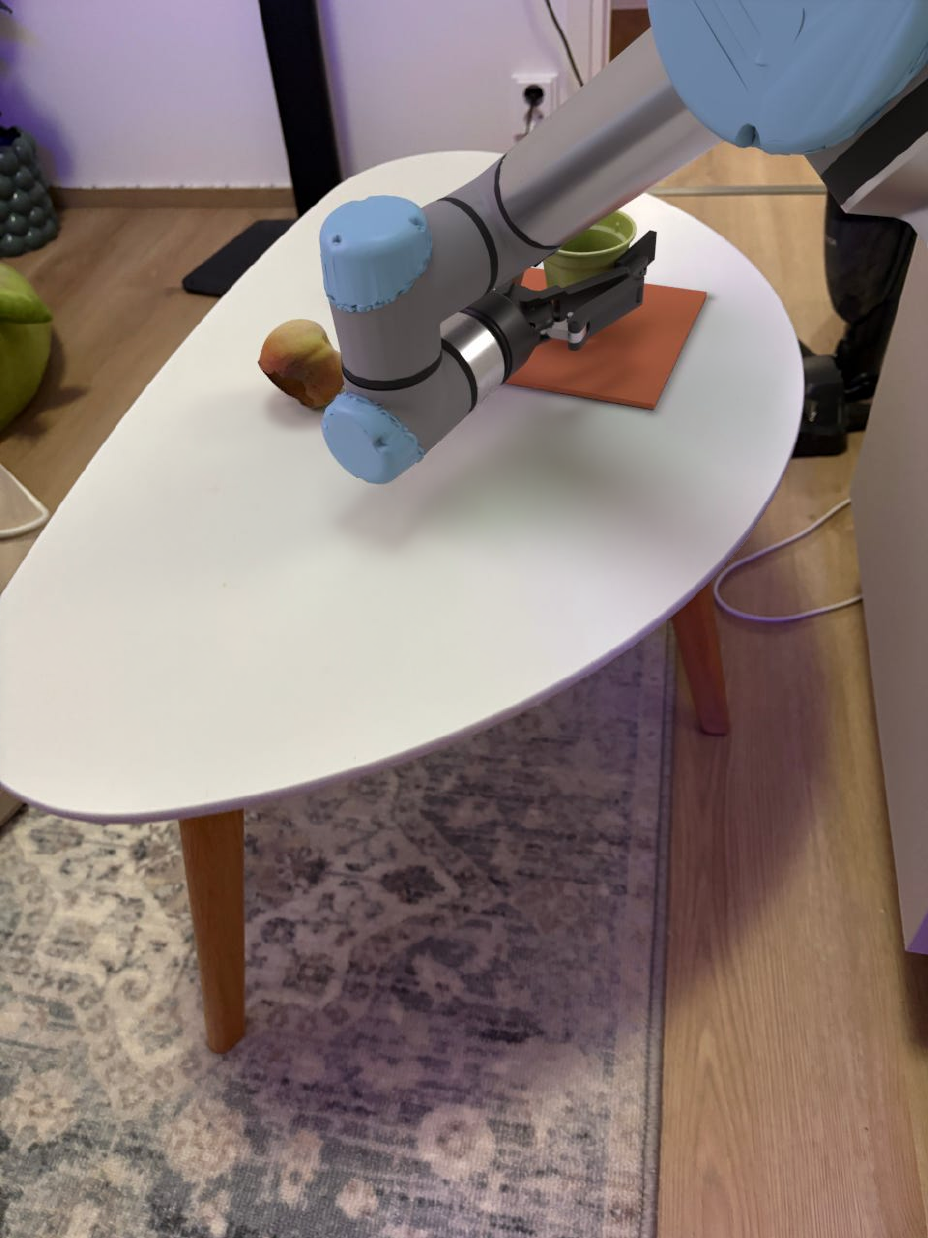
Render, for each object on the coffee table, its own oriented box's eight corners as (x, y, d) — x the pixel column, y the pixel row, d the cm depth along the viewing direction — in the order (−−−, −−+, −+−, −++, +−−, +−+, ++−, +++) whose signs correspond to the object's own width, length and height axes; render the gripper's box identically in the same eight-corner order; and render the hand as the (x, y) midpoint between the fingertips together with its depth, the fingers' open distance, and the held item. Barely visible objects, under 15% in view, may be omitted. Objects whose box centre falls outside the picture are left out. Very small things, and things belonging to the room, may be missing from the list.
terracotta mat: (706, 296, 96) (706, 291, 96) (653, 409, 85) (653, 404, 84) (523, 271, 102) (523, 266, 102) (450, 373, 91) (450, 367, 90)
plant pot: (606, 280, 96) (610, 195, 89) (647, 326, 89) (654, 238, 83) (520, 301, 94) (517, 217, 88) (556, 349, 88) (555, 262, 82)
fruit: (343, 427, 86) (327, 351, 80) (258, 423, 88) (236, 348, 82) (363, 379, 91) (349, 304, 85) (282, 376, 93) (263, 302, 87)
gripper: (380, 354, 86) (518, 246, 97) (580, 427, 77) (706, 297, 88) (367, 278, 80) (515, 172, 91) (582, 346, 71) (717, 219, 82)
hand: (609, 233), depth 90 cm, fingers closed on plant pot, 8 cm apart
